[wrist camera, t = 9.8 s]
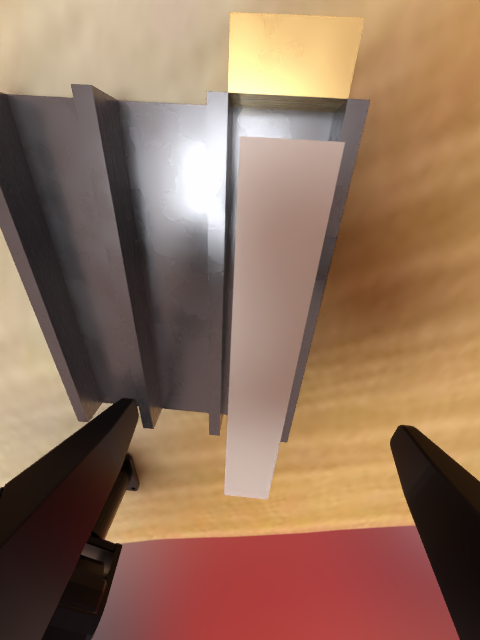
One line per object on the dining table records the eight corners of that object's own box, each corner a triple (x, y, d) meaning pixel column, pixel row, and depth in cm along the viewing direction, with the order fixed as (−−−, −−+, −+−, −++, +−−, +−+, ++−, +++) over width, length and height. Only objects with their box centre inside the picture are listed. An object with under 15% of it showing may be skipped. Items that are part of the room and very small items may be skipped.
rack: (283, 410, 21) (287, 442, 19) (100, 392, 22) (78, 421, 19) (357, 59, 11) (390, 18, 8) (-9, 41, 11) (-92, -2, 8)
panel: (265, 400, 20) (267, 499, 13) (235, 397, 20) (224, 494, 14) (300, 162, 12) (344, 142, 6) (250, 160, 12) (240, 136, 6)
